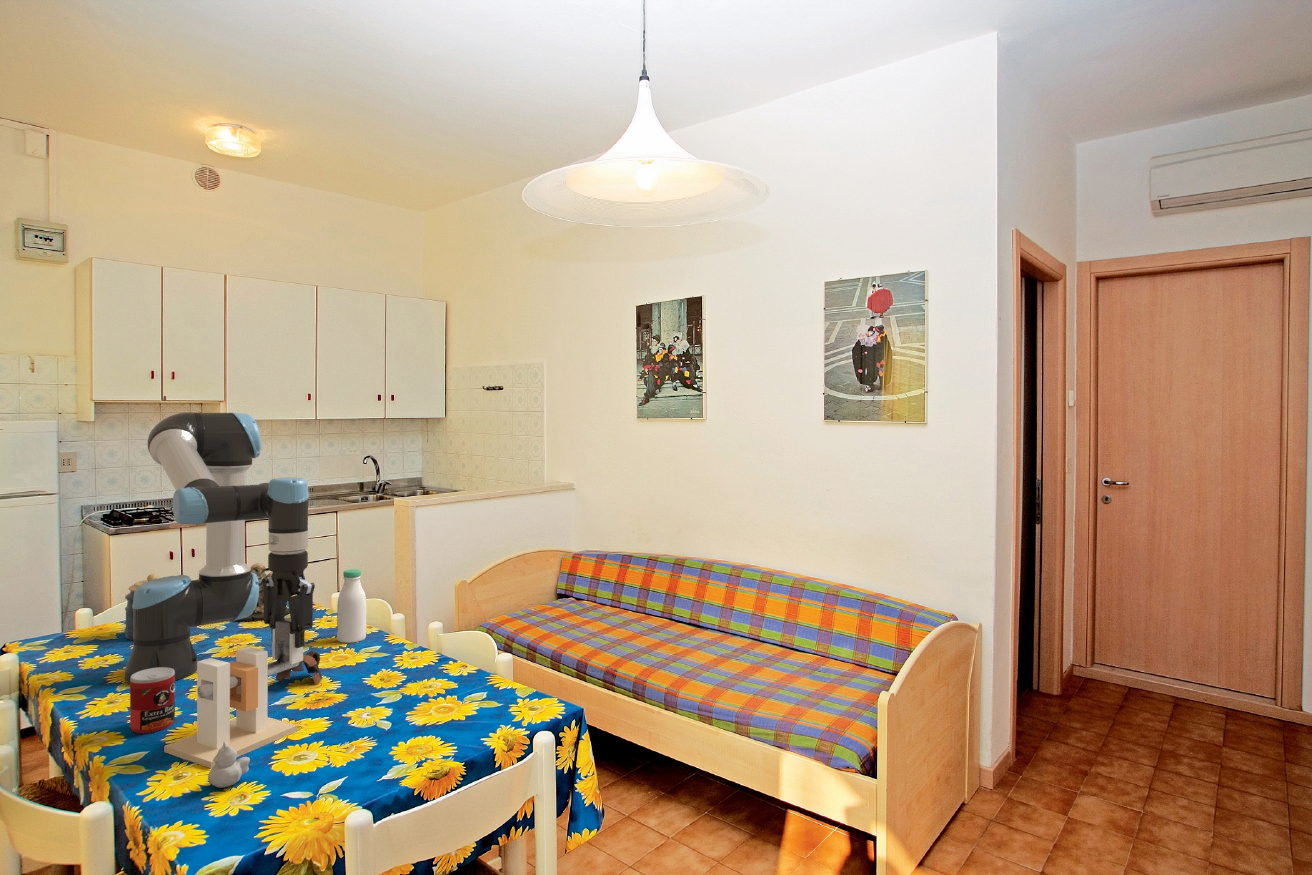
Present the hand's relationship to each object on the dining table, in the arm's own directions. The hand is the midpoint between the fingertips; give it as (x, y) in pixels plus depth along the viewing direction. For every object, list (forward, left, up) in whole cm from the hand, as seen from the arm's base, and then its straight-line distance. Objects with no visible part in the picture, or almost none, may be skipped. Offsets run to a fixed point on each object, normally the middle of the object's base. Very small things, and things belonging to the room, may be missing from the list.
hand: (287, 659), depth 156 cm
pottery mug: (-16, +17, -13) cm, 27 cm away
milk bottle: (-32, +46, -13) cm, 57 cm away
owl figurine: (-76, +49, -13) cm, 91 cm away
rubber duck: (+15, -23, -13) cm, 31 cm away
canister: (-85, +22, -13) cm, 89 cm away
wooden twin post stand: (0, -12, -13) cm, 18 cm away
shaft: (0, -8, -2) cm, 8 cm away
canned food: (-21, -15, -13) cm, 29 cm away
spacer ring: (0, -11, -6) cm, 13 cm away
